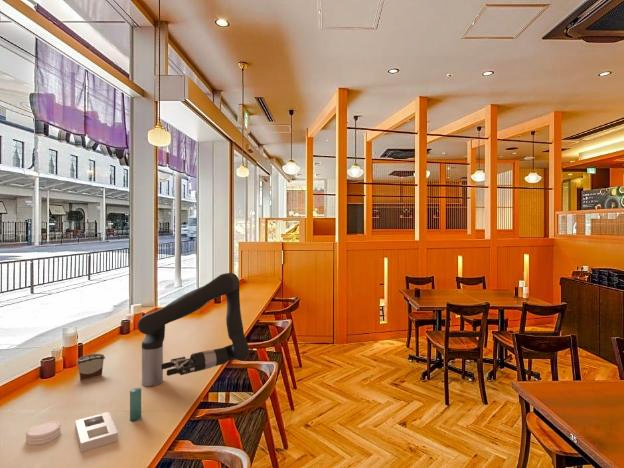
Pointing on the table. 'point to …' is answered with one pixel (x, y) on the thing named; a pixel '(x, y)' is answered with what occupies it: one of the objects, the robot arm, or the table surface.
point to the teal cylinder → (135, 404)
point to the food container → (90, 366)
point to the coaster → (43, 433)
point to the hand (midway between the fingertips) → (164, 369)
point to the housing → (95, 431)
